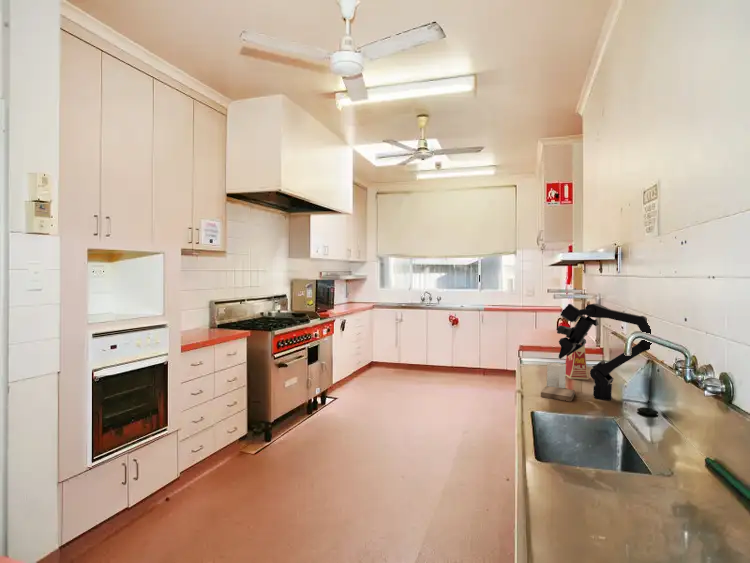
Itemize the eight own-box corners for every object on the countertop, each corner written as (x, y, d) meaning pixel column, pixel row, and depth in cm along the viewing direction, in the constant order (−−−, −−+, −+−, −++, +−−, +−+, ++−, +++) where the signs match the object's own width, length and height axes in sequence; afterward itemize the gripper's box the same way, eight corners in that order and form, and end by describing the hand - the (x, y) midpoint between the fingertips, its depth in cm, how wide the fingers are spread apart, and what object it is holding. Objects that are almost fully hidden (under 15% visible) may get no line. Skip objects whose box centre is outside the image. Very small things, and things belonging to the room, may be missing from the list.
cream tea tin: (565, 388, 206) (565, 364, 205) (559, 390, 202) (559, 366, 201) (552, 385, 210) (553, 362, 210) (546, 387, 206) (547, 363, 206)
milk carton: (588, 379, 223) (590, 340, 223) (570, 378, 224) (571, 339, 223) (580, 375, 233) (582, 337, 232) (562, 374, 233) (564, 336, 232)
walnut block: (574, 394, 194) (574, 390, 194) (570, 401, 184) (571, 396, 184) (545, 390, 201) (545, 385, 200) (540, 396, 190) (540, 391, 190)
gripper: (572, 316, 208) (555, 343, 213) (557, 320, 194) (539, 348, 199) (594, 330, 201) (576, 358, 207) (580, 334, 187) (561, 364, 193)
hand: (563, 356), depth 201 cm, fingers open, 9 cm apart
